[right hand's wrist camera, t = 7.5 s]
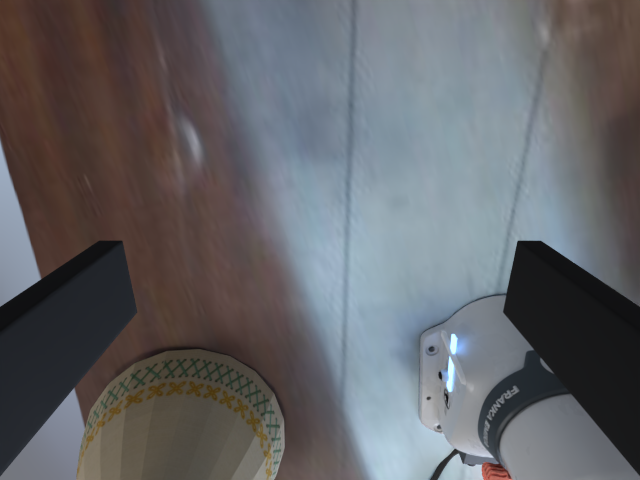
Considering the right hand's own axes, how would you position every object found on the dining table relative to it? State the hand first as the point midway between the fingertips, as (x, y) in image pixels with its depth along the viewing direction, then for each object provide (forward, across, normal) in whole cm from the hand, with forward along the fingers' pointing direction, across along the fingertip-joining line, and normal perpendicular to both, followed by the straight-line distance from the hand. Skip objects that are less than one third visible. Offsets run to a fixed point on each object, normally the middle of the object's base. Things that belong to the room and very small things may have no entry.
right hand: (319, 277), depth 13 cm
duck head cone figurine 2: (+28, -16, -35) cm, 48 cm away
